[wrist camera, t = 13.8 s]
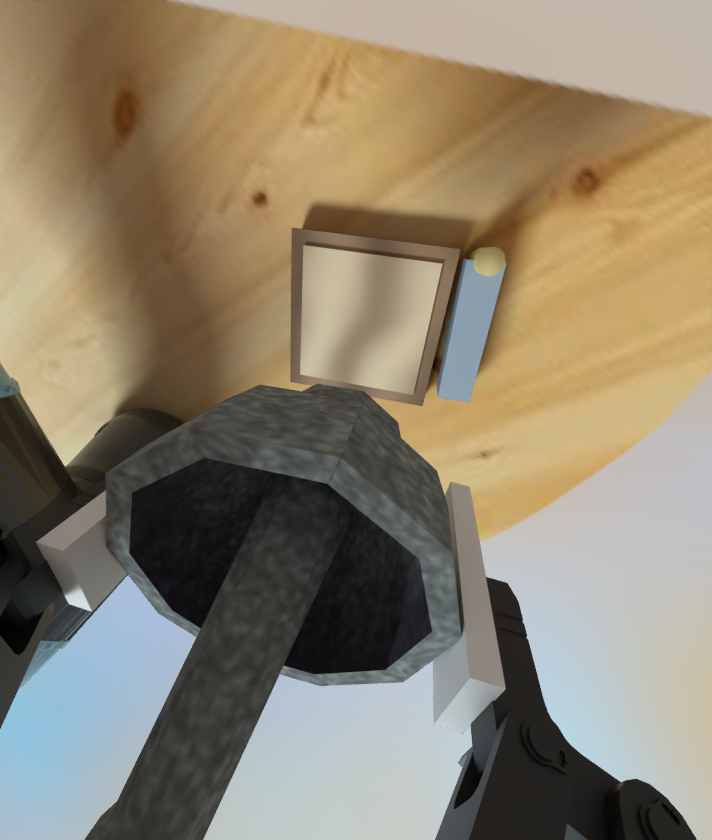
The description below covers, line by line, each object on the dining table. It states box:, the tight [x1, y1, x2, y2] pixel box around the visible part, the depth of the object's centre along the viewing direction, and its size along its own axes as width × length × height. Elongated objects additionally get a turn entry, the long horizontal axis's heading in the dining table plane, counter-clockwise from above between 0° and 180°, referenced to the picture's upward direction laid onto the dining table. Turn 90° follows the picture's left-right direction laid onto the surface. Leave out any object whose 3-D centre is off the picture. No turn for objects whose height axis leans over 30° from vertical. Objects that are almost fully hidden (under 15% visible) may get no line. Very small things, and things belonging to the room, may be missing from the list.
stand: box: [290, 228, 461, 406], centre depth 26 cm, size 12×12×2 cm
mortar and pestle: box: [85, 384, 461, 840], centre depth 9 cm, size 11×9×12 cm
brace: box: [437, 247, 507, 402], centre depth 23 cm, size 11×2×4 cm, turn 176°
